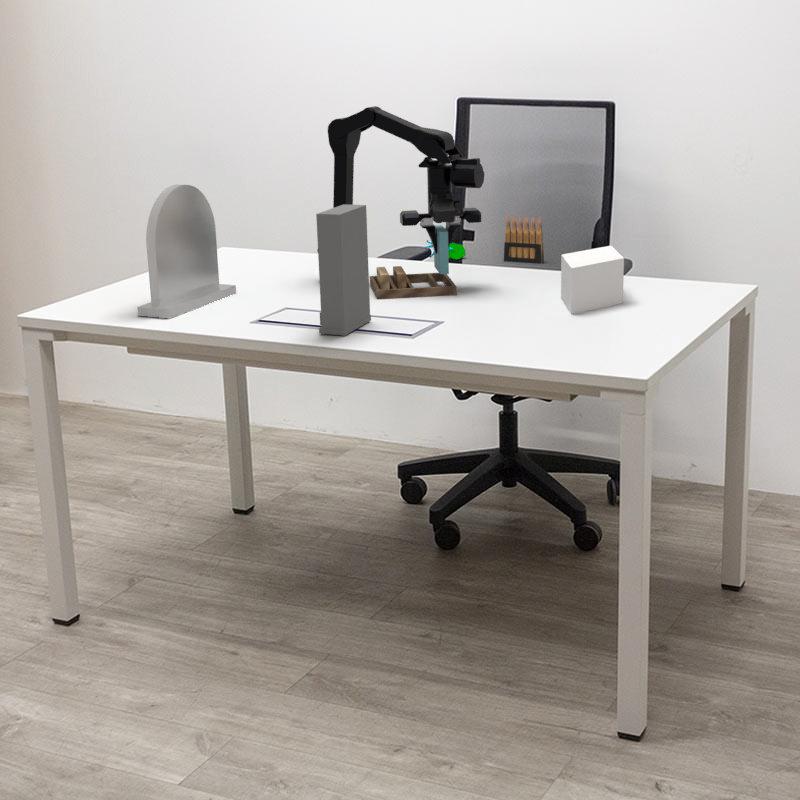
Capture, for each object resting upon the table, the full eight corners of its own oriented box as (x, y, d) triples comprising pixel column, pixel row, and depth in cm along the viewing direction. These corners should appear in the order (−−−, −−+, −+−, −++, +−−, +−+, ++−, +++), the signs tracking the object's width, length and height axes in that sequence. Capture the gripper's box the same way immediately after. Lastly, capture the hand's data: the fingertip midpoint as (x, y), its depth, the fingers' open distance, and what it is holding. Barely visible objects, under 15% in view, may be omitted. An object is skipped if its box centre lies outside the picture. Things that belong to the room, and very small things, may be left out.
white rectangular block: (539, 312, 272) (539, 266, 269) (580, 286, 297) (581, 243, 294) (603, 317, 266) (604, 270, 263) (640, 290, 290) (641, 247, 288)
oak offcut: (398, 295, 293) (397, 274, 292) (393, 286, 303) (392, 266, 301) (406, 294, 293) (406, 273, 292) (401, 286, 303) (401, 266, 301)
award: (205, 291, 303) (196, 177, 295) (236, 293, 299) (228, 178, 291) (136, 316, 279) (124, 192, 271) (169, 319, 275) (158, 193, 267)
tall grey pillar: (345, 319, 270) (340, 204, 262) (371, 321, 268) (366, 204, 260) (318, 334, 257) (312, 213, 250) (345, 336, 255) (340, 214, 248)
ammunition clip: (503, 261, 330) (503, 215, 326) (506, 260, 331) (506, 214, 328) (541, 263, 325) (541, 217, 322) (544, 262, 327) (544, 216, 323)
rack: (377, 299, 289) (376, 290, 288) (370, 284, 306) (369, 276, 305) (456, 294, 291) (456, 286, 290) (445, 280, 308) (445, 272, 307)
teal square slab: (440, 274, 293) (439, 232, 290) (434, 266, 302) (433, 225, 299) (448, 273, 293) (448, 231, 290) (442, 266, 302) (441, 225, 300)
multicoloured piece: (418, 250, 336) (431, 225, 338) (424, 261, 343) (437, 236, 344) (457, 265, 332) (470, 240, 333) (462, 276, 338) (475, 251, 340)
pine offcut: (381, 296, 293) (380, 275, 291) (377, 287, 302) (376, 267, 301) (389, 295, 293) (389, 274, 291) (385, 287, 302) (384, 266, 301)
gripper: (404, 193, 283) (406, 261, 288) (485, 189, 285) (485, 257, 290) (398, 187, 294) (400, 252, 298) (476, 183, 296) (477, 248, 300)
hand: (441, 252), depth 296 cm, fingers closed on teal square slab, 2 cm apart
